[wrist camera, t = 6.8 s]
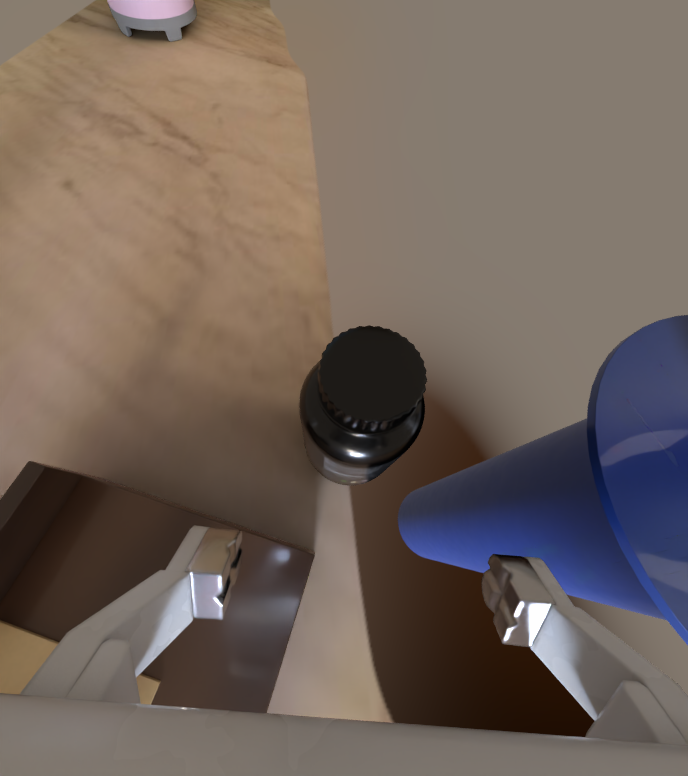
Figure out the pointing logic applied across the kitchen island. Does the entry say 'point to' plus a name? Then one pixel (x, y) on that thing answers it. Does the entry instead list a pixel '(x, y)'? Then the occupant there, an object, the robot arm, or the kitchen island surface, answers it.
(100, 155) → the kitchen island surface
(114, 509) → the shelf
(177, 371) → the kitchen island surface
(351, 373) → the supplement bottle
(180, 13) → the blender
